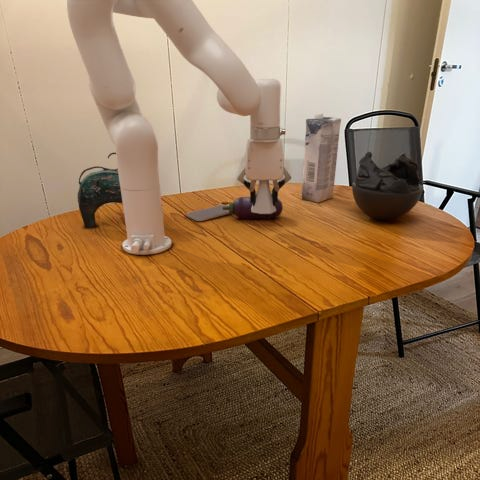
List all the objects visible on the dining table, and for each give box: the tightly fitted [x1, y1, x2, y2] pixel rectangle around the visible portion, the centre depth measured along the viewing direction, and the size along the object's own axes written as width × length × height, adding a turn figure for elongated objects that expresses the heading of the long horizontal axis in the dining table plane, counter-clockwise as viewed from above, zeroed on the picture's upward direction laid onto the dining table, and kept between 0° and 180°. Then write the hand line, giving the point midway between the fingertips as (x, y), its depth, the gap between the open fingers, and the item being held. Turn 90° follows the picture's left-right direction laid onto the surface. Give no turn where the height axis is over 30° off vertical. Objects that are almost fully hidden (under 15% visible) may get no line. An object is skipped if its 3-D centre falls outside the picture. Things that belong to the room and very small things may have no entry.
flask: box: [251, 180, 276, 214], centre depth 121 cm, size 7×7×10 cm
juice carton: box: [301, 113, 342, 203], centre depth 148 cm, size 9×10×27 cm
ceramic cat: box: [77, 151, 123, 229], centre depth 127 cm, size 20×6×20 cm, turn 108°
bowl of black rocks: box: [351, 151, 424, 221], centre depth 130 cm, size 20×20×19 cm
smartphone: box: [186, 204, 230, 222], centre depth 139 cm, size 7×1×15 cm
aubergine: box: [223, 193, 284, 220], centre depth 134 cm, size 7×18×7 cm, turn 91°
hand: (263, 204), depth 122 cm, fingers closed on flask, 4 cm apart
